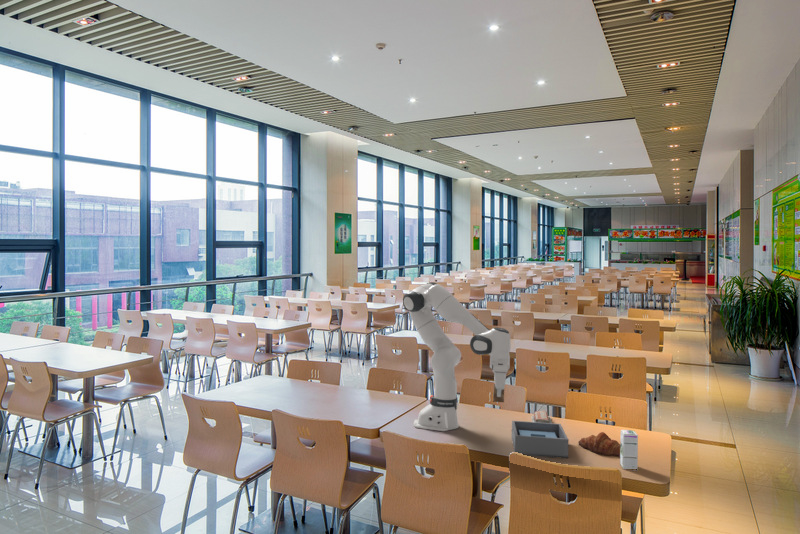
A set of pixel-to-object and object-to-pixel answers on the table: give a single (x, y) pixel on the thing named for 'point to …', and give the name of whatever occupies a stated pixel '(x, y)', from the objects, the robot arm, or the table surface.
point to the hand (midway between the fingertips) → (498, 394)
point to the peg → (498, 399)
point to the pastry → (601, 444)
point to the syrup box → (629, 449)
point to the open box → (539, 439)
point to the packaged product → (541, 417)
